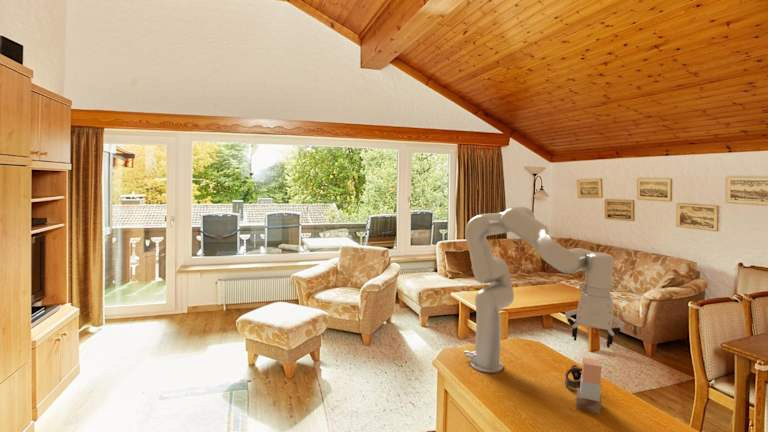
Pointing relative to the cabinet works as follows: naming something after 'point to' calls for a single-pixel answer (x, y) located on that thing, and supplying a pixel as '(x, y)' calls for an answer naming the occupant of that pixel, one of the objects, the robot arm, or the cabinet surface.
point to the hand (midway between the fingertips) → (591, 342)
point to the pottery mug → (576, 376)
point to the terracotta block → (591, 370)
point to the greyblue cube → (590, 390)
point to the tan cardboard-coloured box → (587, 404)
